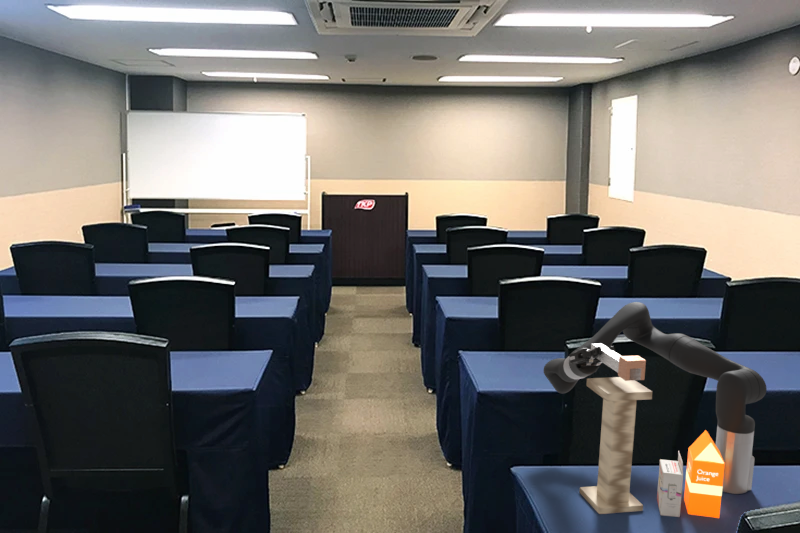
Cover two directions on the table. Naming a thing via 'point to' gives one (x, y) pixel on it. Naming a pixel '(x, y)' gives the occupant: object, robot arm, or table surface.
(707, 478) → the orange juice
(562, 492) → the table surface
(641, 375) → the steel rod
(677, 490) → the ink cartridge box
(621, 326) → the robot arm
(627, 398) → the birch stand
